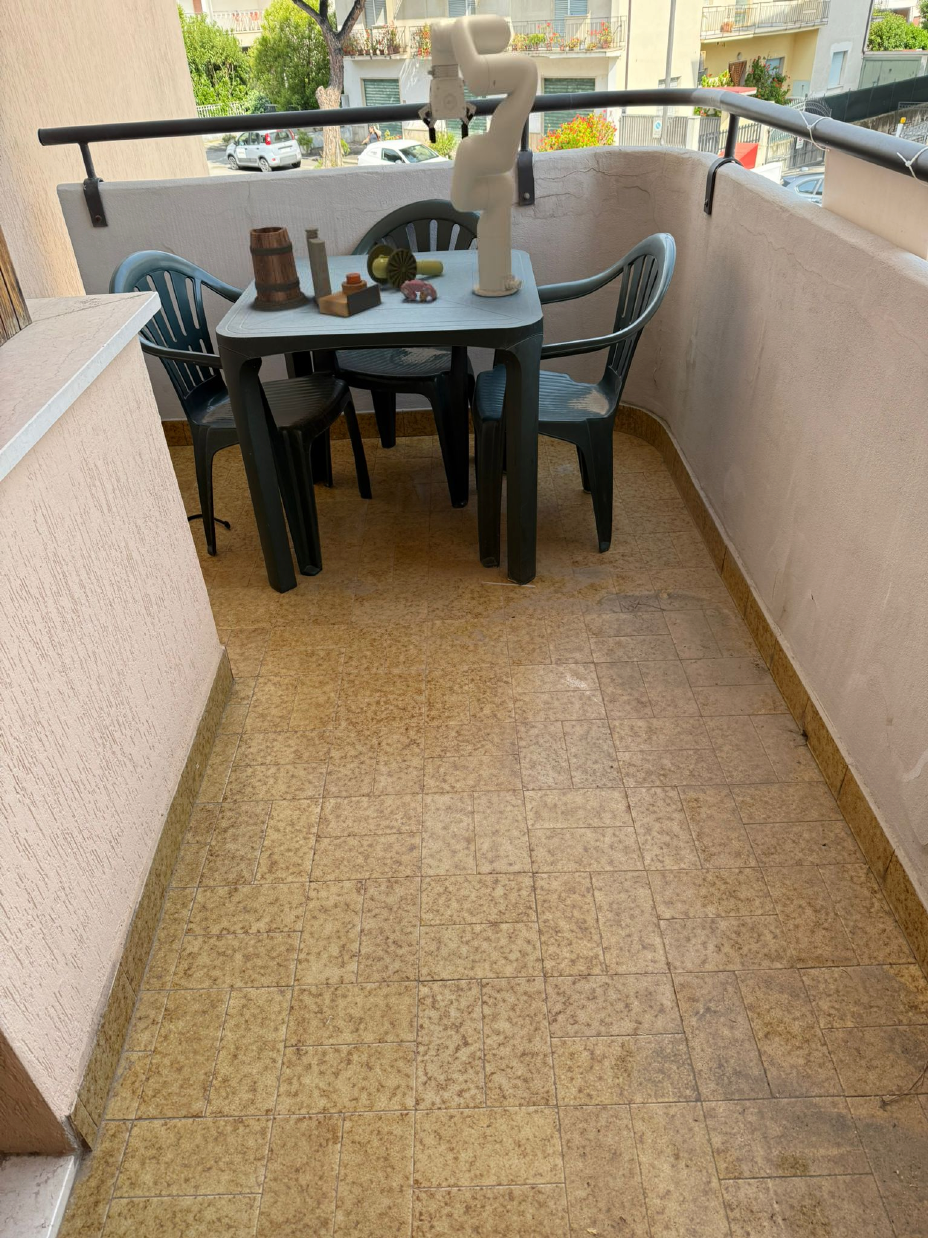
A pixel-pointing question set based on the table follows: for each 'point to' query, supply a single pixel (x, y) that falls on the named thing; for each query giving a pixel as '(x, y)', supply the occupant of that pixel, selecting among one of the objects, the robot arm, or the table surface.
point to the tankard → (275, 270)
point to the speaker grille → (363, 299)
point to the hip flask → (318, 264)
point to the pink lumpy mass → (418, 290)
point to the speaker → (340, 300)
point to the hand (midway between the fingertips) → (449, 141)
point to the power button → (353, 278)
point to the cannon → (398, 266)
